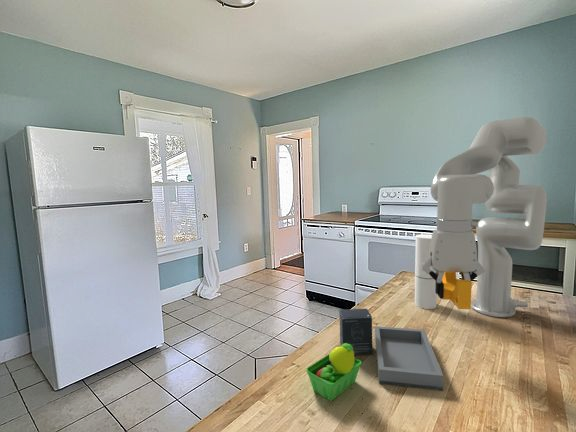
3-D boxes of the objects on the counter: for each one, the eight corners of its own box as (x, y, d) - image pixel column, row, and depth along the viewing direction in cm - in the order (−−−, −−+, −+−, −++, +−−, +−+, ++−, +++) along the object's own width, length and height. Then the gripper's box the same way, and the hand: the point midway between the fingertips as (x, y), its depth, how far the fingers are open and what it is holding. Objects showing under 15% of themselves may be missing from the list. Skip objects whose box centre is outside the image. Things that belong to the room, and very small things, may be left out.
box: (367, 343, 87) (367, 307, 85) (372, 355, 81) (372, 317, 80) (339, 344, 87) (339, 308, 86) (343, 356, 81) (342, 318, 80)
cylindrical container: (437, 303, 112) (439, 235, 108) (435, 310, 106) (436, 239, 102) (416, 299, 115) (417, 233, 112) (412, 306, 109) (413, 237, 106)
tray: (424, 341, 87) (424, 329, 86) (442, 390, 67) (443, 375, 67) (374, 337, 90) (374, 326, 89) (378, 383, 70) (378, 369, 70)
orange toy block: (435, 290, 84) (435, 267, 84) (452, 290, 84) (453, 267, 83) (450, 308, 73) (451, 282, 72) (470, 309, 72) (471, 282, 71)
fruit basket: (336, 367, 77) (335, 324, 75) (367, 384, 70) (367, 337, 69) (305, 390, 69) (303, 343, 67) (336, 411, 62) (335, 359, 61)
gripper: (485, 223, 78) (482, 293, 80) (414, 223, 81) (413, 290, 84) (499, 228, 71) (495, 305, 73) (420, 228, 74) (418, 301, 76)
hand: (451, 296), depth 78 cm, fingers closed on orange toy block, 4 cm apart
